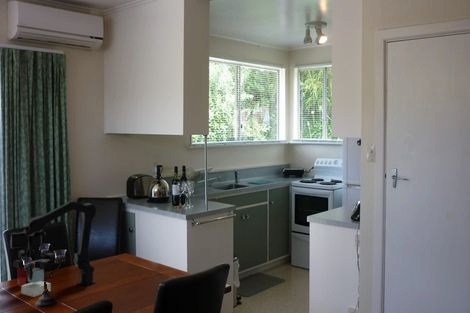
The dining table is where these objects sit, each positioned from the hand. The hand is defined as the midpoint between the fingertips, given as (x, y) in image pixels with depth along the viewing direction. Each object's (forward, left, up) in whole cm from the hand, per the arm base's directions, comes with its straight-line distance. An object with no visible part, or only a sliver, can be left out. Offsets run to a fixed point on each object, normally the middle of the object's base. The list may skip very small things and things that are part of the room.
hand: (36, 278), depth 214 cm
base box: (0, 0, -7) cm, 7 cm away
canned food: (+14, -3, -7) cm, 15 cm away
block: (0, 0, -1) cm, 1 cm away
